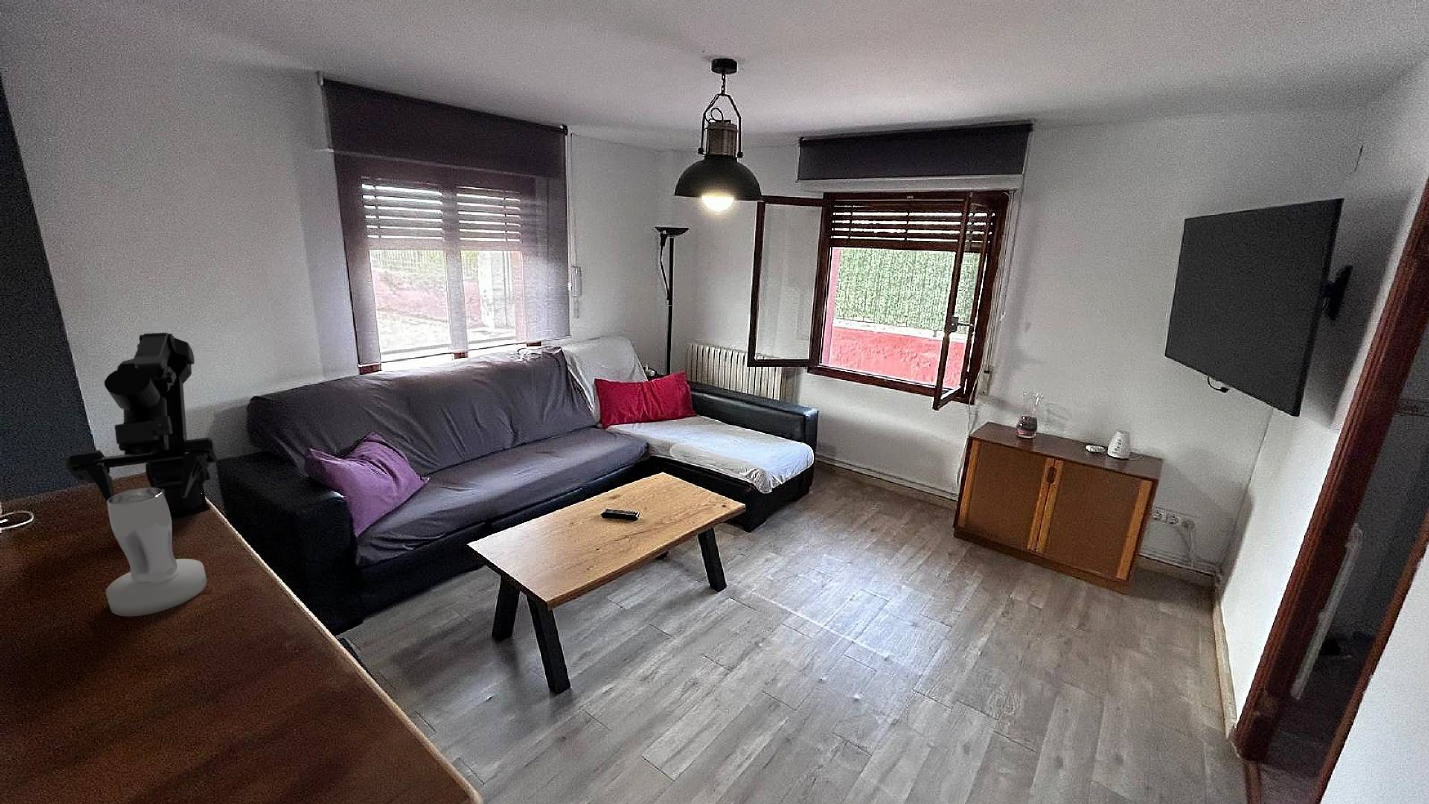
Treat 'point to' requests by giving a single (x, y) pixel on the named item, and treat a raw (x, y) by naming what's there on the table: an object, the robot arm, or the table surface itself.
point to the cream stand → (156, 591)
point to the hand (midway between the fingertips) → (148, 502)
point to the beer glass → (144, 534)
